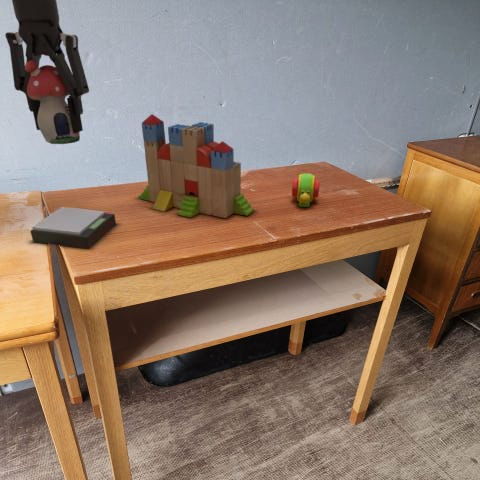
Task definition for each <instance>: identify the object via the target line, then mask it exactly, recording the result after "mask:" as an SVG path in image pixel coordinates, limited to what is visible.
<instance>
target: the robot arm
mask: <svg viewBox="0 0 480 480" xmlns="http://www.w3.org/2000/svg"><path fill="white" fill-rule="evenodd" d="M11 3H12V7H13V11H14V16H15V19H16V20H17V23H18V29H17V31H9V32H6V33H5V34H4V37H5V39H6V42H7V44H8V47H9V52H10V60H11V70H12V77H13V86H14V89H15V90H16V91H17V92H18V91H20V92H22V93H24V94H25V97H26V101H27V105H28V106H27V107H28V109H29V111H30V113H31V112H32V114H33V119H34V123H35V128H36V131H40V129H39V126H38V122H37V116H38V111H39V108H40V104H41V103H40V101H39V100H33V99H31V98H30V97H29V96H28V94H27V86H28V82H29V79H30V77H31V73H29V72H27V71H26V70H25V64H26V62H28V61H30V60H33V61H35V62H36V63H37V66H38V68H40V60H41V59H42V56H45V57H48V58H49V60H50V61H51V62H52V63H53V66H54V67H56V69H57V71H58V72H59V74H60V76H61V78H62V80H63V82H64V84H65V86H66V88H67V90H68V92H69V94H70V95H68V96H67V97H66V103H67V104H68V108H69V113H70V119H71V124H72V130H73V133H78V132H79V133H80V132H82V131H84V129H83V128H84V127H83V122H82V116H81V115H83V114H84V108H83V102H82V101H83V100H82V96H84V95H87V94H88V93H89V92H90V88H89V84H88V80H87V77H86V74H85V69H84V66H83V63H82V57H81V55H80V51H79V38H78V37H79V36H77V35H76V34H69V33H64V32H63V30H62V28H61V26H60V14H59V9H58V2H57V0H11ZM23 43H24V44H25V46H26V47H25V53H24V46H23ZM61 45H63V47H65V52H66V54H65V52H64V51H63V49H62V47H61ZM66 56H67V60H66ZM25 57H26V58H25ZM25 59H26V60H25ZM25 61H26V62H25ZM67 61H68V62H67ZM68 63H69V64H68Z"/></svg>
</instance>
